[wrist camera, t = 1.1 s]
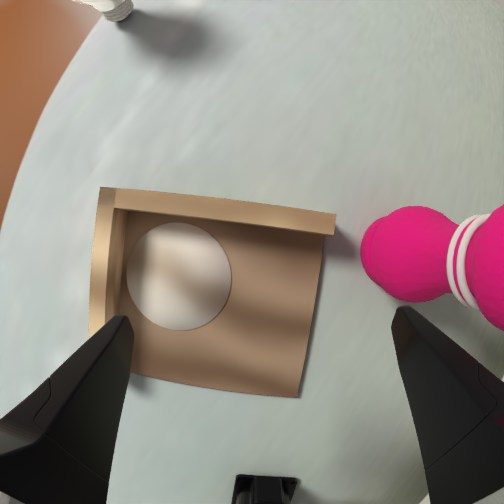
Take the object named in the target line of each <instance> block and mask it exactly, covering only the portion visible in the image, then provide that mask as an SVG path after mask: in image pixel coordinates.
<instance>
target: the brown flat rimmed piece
mask: <svg viewBox="0 0 504 504" xmlns="http://www.w3.org/2000/svg"><path fill="white" fill-rule="evenodd" d="M335 220H336V214H331V213H324V212H318V211H311V210H305V209H298V208H291V207H284V206H277V205H270V204H262V203H255V202H247V201H239V200H231V199H222V198H214V197H205V196H196V195H186V194H177V193H167V192H156V191H145V190H134V189H121V188H108V187H100V192H99V199H98V206H97V213H96V221H95V230H94V239H93V250H92V262H91V277H90V298H89V338H91V337H92V336H93V335H94V334H95V333H96V332H97V331H98V330H99V329H100V328H101V327H102V326H104V325H105V324H106V323H107V322H108V321H109V320H110V319H111V318H112V317H113V316H115V315H127V316H128V318H129V320H130V323H131V325H132V328H133V330H134V335H135V338H134V346H133V353H132V361H131V369H130V372H132V373H136V374H140V375H144V376H149V377H153V378H158V379H163V380H168V381H173V382H178V383H184V384H189V385H195V386H201V387H207V388H213V389H220V390H227V391H235V392H243V393H251V394H260V395H271V396H282V397H295V398H297V394H298V389H299V385H300V380H301V375H302V370H303V365H304V360H305V355H306V349H307V344H308V339H309V333H310V328H311V322H312V316H313V310H314V304H315V298H316V292H317V285H318V279H319V272H320V265H321V258H322V251H323V244H324V236H325V235H334V229H335Z"/></svg>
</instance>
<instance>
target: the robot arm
mask: <svg viewBox="0 0 504 504" xmlns="http://www.w3.org/2000/svg"><path fill="white" fill-rule="evenodd" d="M391 330H392V335H393V340H394V345H395V350H396V355H397V360H398V365H399V369H400V373H401V377H402V380H403V383H404V387H405V390H406V394H407V398H408V401H409V405H410V409H411V413H412V416H413V420H414V424H415V428H416V433H417V437H418V441H419V445H420V450H421V454H422V459H423V464H424V469H425V475H426V480H427V485H428V491H429V497H430V503H431V504H504V382H503V381H501V380H500V379H499V378H497V377H496V376H495V375H494V374H492V373H491V372H490V371H489V370H487V369H486V368H485V367H484V366H483V365H482V364H480V363H478V361H477V360H476V359H474V358H473V357H472V356H471V355H470V354H468V353H467V352H466V351H465V350H464V349H463V348H461V347H460V346H459V345H458V344H456V343H455V342H454V341H453V340H452V339H450V338H449V337H448V336H447V335H445V334H444V333H443V332H442V331H441V330H439V329H438V328H437V327H436V326H434V325H433V324H432V323H431V322H429V321H428V320H427V319H426V318H424V317H423V316H422V315H421V314H419V313H418V312H417V311H415V310H414V309H413V308H412V307H410V306H400V307H398V308H397V310H396V313H395V316H394V319H393V321H392V325H391ZM134 338H135V335H134V330H133V328H132V325H131V323H130V320H129V318H128V316H127V315H115V316H113V317H112V318H111V319H110V320H109V321H108V322H107V323H106V324H105V325H104V326H102V327H101V328H100V329H99V330H98V331H97V332H96V333H95V334H94V335H93V336H92V337H91V338H89V339H88V340H87V341H86V342H85V343H84V344H83V345H82V346H81V347H80V348H79V349H78V350H77V351H76V352H75V353H73V354H72V355H71V356H70V357H69V358H68V359H67V360H66V361H65V362H64V363H63V364H62V365H61V366H60V367H59V368H58V369H57V370H56V371H55V372H54V373H53V374H52V375H50V378H47V379H46V380H45V381H44V382H43V383H42V384H41V385H40V386H39V387H38V388H37V389H36V390H35V391H34V392H33V393H31V394H30V395H29V396H28V397H27V398H26V399H24V400H23V401H22V402H21V403H20V404H18V405H17V406H16V407H15V408H14V409H12V410H11V411H10V412H9V413H8V414H6V415H5V416H4V417H3V418H1V419H0V504H106V500H107V493H108V486H109V483H108V482H109V478H110V472H111V466H112V460H113V454H114V448H115V443H116V438H117V432H118V427H119V422H120V417H121V413H122V408H123V403H124V399H125V394H126V390H127V386H128V381H129V376H130V369H131V361H132V353H133V346H134ZM239 478H242V479H239ZM292 481H293V482H292ZM296 484H297V479H296V478H286V477H266V476H253V475H242V474H239V475H237V476H236V479H235V485H234V491H233V497H232V503H231V504H290V502H291V499H292V496H293V493H294V490H295V487H296Z"/></svg>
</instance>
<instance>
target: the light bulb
mask: <svg viewBox="0 0 504 504" xmlns="http://www.w3.org/2000/svg"><path fill="white" fill-rule="evenodd" d="M72 1H75V2H77V3H81V4H88V5H92V6H93V7H94V8H95V9H97V10H99V11H101V13H102V14H103V16H104V17H105V19H106V20H108V21H112V22H115V21H121V20H124V19H125V18H126V17H127V16H128V15H129V14H130V13H131V11H132V10H133V3H132V1H131V0H72Z"/></svg>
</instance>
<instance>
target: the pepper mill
mask: <svg viewBox="0 0 504 504" xmlns="http://www.w3.org/2000/svg"><path fill="white" fill-rule="evenodd" d="M361 261H362V264H363V268H364V269H365V271H366V273H367V275H368V276H369V277H370V278H371V279H372V280H373V281H374V282H376V283H377V284H379V285H381V287H382V288H383V289H384V290H385V291H386V292H387V293H389V294H390V295H392V296H393V297H395V298H397V299H399V300H403V301H407V302H414V303H416V302H424V301H429V300H433V299H435V298H437V297H439V296H441V295H443V294H445V293H446V292H447V293H453V294H454V296H455V297H456V298H457V299H458V301H459V302H461V303H462V304H463V305H465V306H467V307H470V308H474V309H476V310H478V311H481V312H482V314H483V315H484V317H485V318H486V319H487V320H488V321H489V322H490V323H491V324H493V325H494V326H495V327H497V328H499V329H501V330H503V331H504V205H502V206H501V207H499V208H498V209H496V210H495V211H493V213H492V214H485V215H474V216H471V217H469V218H467V219H466V220H465V221H463V222H462V223H461V224H460V225H457V224H455V223H454V222H452V221H451V220H450V219H448V218H447V217H446V216H445V215H443V214H442V213H440V212H438V211H435V210H433V209H430V208H428V207H422V206H408V207H403V208H400V209H398V210H396V211H394V212H392V213H391V214H389V215H388V216H386V217H382V218H380V219H378V220H376V221H375V222H374V223H373V224H372V225H371V226H370V227H369V228H368V229H367V231H366V233H365V234H364V237H363V239H362V243H361Z"/></svg>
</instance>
